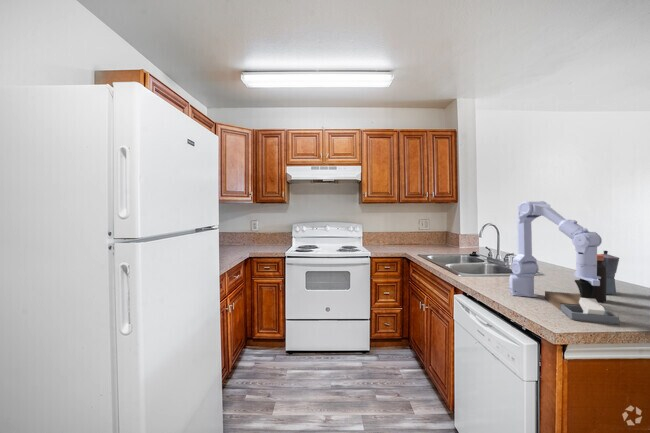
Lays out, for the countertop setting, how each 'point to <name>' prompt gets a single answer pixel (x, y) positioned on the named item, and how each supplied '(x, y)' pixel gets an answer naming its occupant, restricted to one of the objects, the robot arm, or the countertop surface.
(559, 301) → the walnut board
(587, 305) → the tile front
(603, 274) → the bottle
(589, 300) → the tile back
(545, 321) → the countertop surface
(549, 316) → the countertop surface
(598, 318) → the box
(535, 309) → the countertop surface
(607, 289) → the moka pot
